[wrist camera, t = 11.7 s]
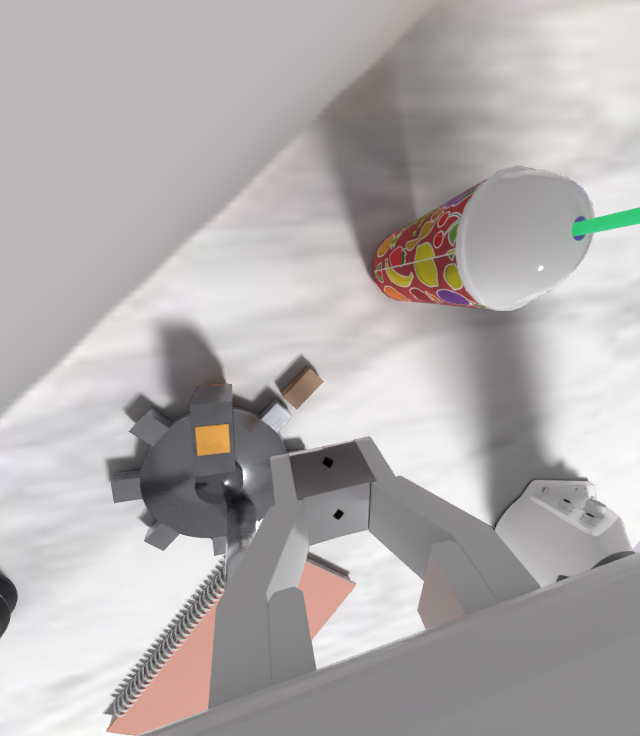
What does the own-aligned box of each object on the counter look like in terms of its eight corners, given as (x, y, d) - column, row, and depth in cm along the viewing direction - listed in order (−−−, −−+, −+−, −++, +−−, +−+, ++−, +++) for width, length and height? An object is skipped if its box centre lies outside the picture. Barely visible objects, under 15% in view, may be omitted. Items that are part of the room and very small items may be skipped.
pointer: (307, 365, 30) (310, 368, 28) (319, 377, 30) (323, 381, 29) (280, 392, 30) (283, 397, 28) (293, 404, 30) (296, 409, 29)
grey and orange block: (231, 384, 26) (231, 401, 21) (234, 442, 28) (235, 471, 23) (197, 386, 25) (188, 405, 21) (202, 446, 27) (195, 477, 22)
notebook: (253, 524, 33) (254, 538, 31) (351, 572, 39) (357, 586, 37) (103, 709, 32) (95, 734, 30) (225, 728, 38) (225, 750, 36)
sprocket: (307, 379, 30) (343, 416, 20) (305, 526, 34) (334, 616, 24) (104, 390, 25) (18, 447, 15) (130, 562, 29) (76, 696, 19)
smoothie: (420, 216, 30) (734, 71, 11) (435, 293, 32) (710, 280, 14) (351, 239, 28) (581, 112, 9) (372, 318, 31) (586, 341, 12)
